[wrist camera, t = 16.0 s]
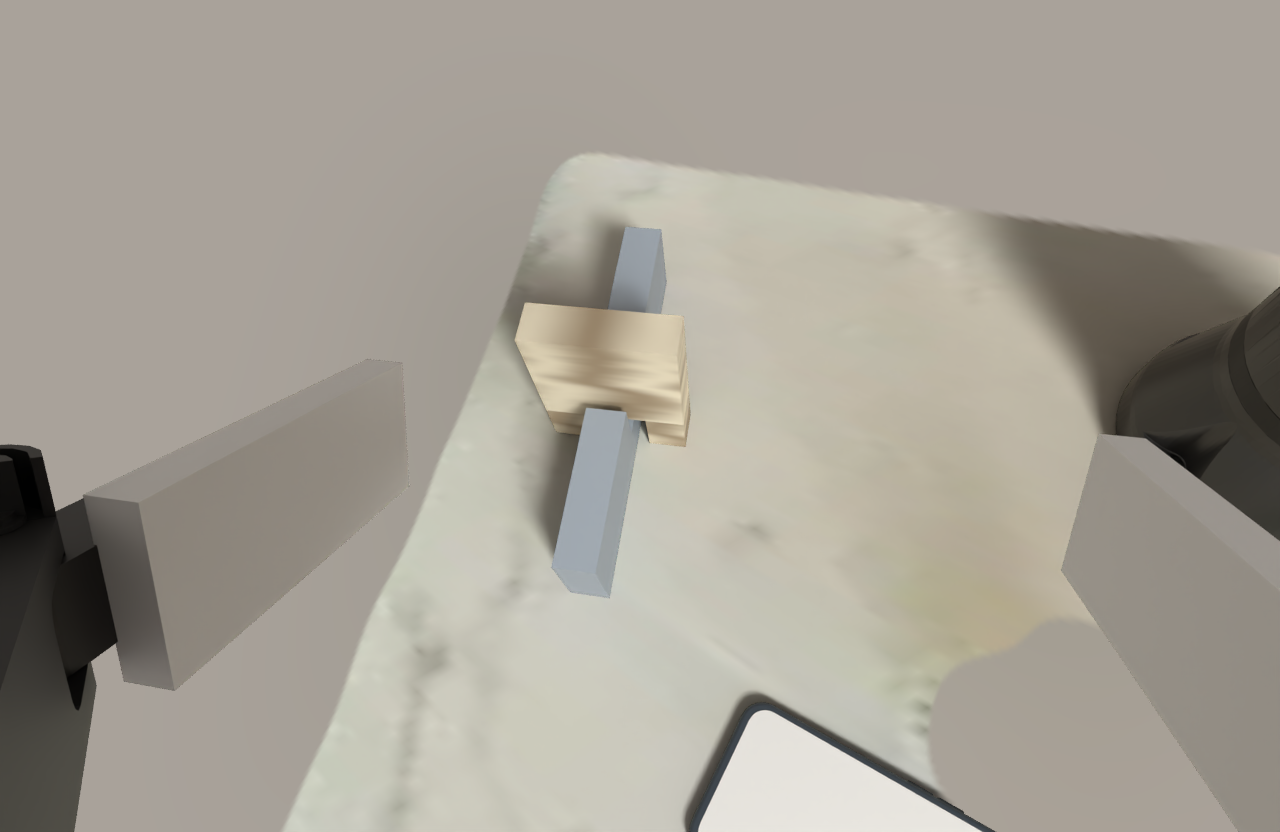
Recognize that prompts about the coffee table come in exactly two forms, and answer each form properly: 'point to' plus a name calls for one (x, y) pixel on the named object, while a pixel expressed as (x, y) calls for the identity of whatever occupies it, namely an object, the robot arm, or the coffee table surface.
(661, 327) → the wooden arch block
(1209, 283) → the coffee table surface
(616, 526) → the grey rail
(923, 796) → the phone case
